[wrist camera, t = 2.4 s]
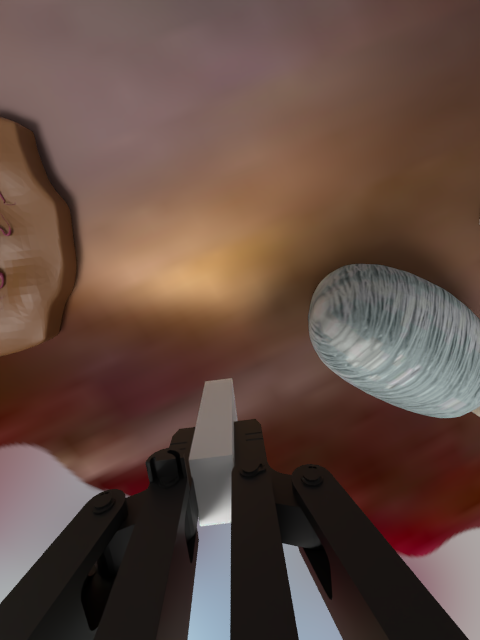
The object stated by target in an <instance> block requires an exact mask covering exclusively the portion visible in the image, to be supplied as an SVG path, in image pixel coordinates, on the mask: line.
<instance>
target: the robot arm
mask: <svg viewBox="0 0 480 640" xmlns="http://www.w3.org/2000/svg"><path fill="white" fill-rule="evenodd" d="M146 467H147V472H148V477H149V481H150V484H149V487H148V489H146V490H145V491H143V492H140V493H138V494H135V495H133V496H130V497H127V498H126V497H125V494H124V493H123V492H122V491H121V490H118V489H112V490H107V491H104V492H101V493H99V494H98V495H96V496H94V497H93V498H92V499H91V500H90V501H88V502H87V503H86V504H85V506H84V507H83V508H82V509H81V510H80V512H79V513H78V514H77V515H76V516H75V517H74V519H73V520H72V521H71V522H70V523H69V524H68V525H67V527H66V528H65V529H64V530H63V531H62V532H61V534H60V535H59V536H58V537H57V538H56V539H55V541H54V542H53V543H52V544H51V545H50V546H49V548H48V549H47V550H46V551H45V552H44V553H43V555H42V556H41V557H40V558H39V559H38V561H37V562H36V563H35V564H34V565H33V566H32V567H31V569H30V570H29V571H28V572H27V573H26V575H25V576H24V577H23V578H22V579H21V580H20V581H19V583H18V584H17V585H16V586H15V587H14V588H13V590H12V591H11V592H10V593H9V594H8V595H7V597H6V598H5V599H4V600H3V601H2V602H1V604H0V640H187V638H188V629H189V621H190V612H191V603H192V595H193V594H192V593H193V586H194V577H195V568H196V560H197V551H198V542H199V539H198V531H197V521H198V517H199V523H200V526H207V525H216V524H224V523H231V625H230V627H231V628H230V633H231V635H230V640H299V639H298V633H297V627H296V621H295V616H294V610H293V604H292V599H291V592H290V586H289V580H288V575H287V569H286V563H285V557H284V552H283V546H282V543H285V544H290V545H294V546H298V547H299V551H300V553H301V555H302V557H303V559H304V561H305V563H306V565H307V567H308V569H309V572H310V574H311V576H312V577H313V580H314V581H315V584H316V586H317V587H318V590H319V592H320V594H321V596H322V598H323V600H324V602H325V604H326V606H327V608H328V610H329V612H330V614H331V616H332V618H333V620H334V622H335V624H336V626H337V628H338V630H339V632H340V634H341V636H342V638H343V640H469V639H468V638H467V637H466V636H465V634H464V633H463V632H462V631H461V630H460V628H459V627H458V626H457V625H456V624H455V622H454V621H453V620H452V619H451V618H450V616H449V615H448V614H447V613H446V612H445V610H444V609H443V608H442V607H441V606H440V604H439V603H438V602H437V601H436V600H435V598H434V597H433V596H432V595H431V594H430V592H429V591H428V590H427V589H426V587H425V586H424V585H423V584H422V583H421V581H420V580H419V579H418V578H417V577H416V575H415V574H414V573H413V572H412V571H411V569H410V568H409V567H408V566H407V565H406V563H405V562H404V561H403V560H402V559H401V557H400V556H399V555H398V554H397V553H396V551H395V550H394V549H393V548H392V546H391V545H390V544H389V543H388V542H387V540H386V539H385V538H384V537H383V536H382V534H381V533H380V532H379V531H378V530H377V528H376V527H375V526H374V525H373V524H372V522H371V521H370V520H369V519H368V518H367V516H366V515H365V514H364V513H363V512H362V510H361V509H360V508H359V507H358V506H357V504H356V503H355V502H354V501H353V500H352V498H351V497H350V496H349V495H348V494H347V492H346V491H345V490H344V489H343V487H342V486H341V485H340V484H339V483H338V481H337V480H336V479H335V478H334V477H333V475H332V474H331V473H330V472H329V471H328V470H326V469H325V468H324V467H321V466H319V465H313V464H307V465H302V466H300V467H298V468H296V469H295V470H294V472H293V473H292V475H287V474H282V473H279V472H277V471H275V470H273V469H272V468H271V467H270V466H269V465H268V462H267V458H266V452H265V446H264V440H263V435H262V429H261V424H260V423H259V422H258V421H257V420H256V419H251V420H243V421H238V419H237V412H236V404H235V397H234V389H233V382H232V378H230V379H222V380H214V381H206V382H205V386H204V390H203V395H202V400H201V404H200V409H199V414H198V418H197V423H196V427H192V428H184V429H179V430H178V431H177V432H176V433H175V434H174V435H173V437H172V440H171V443H170V446H169V448H166V449H162V450H160V451H158V452H155V453H154V454H153V455H151V456H150V457H149V458H148V459H147V461H146Z"/></svg>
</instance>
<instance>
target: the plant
mask: <svg viewBox="0 0 480 640" xmlns="http://www.w3.org/2000/svg"><path fill="white" fill-rule="evenodd" d="M76 270H77V259H76V252H75V246H74V239H73V230H72V220H71V214H70V210H69V207H68V205H67V204H66V202H65V201H64V200H63V199H62V197H61V196H60V195H59V194H58V193H57V192H56V190H55V189H54V188H53V186H52V185H51V183H50V181H49V179H48V177H47V175H46V172H45V169H44V167H43V164H42V161H41V159H40V156H39V153H38V150H37V146H36V141H35V137H34V133H33V132H32V131H31V130H29V129H27V128H25V127H23V126H22V125H20V124H18V123H16V122H14V121H11V120H8V119H5V118H3V117H0V357H1V356H4V355H8V354H12V353H16V352H19V351H23V350H25V349H28V348H31V347H34V346H36V345H39V344H41V343H43V342H45V341H47V340H49V339H52V338H53V337H55V336H56V335H58V333H59V331H60V325H61V321H62V315H63V310H64V307H65V304H66V301H67V299H68V297H69V295H70V294H71V292H72V290H73V288H74V284H75V278H76Z"/></svg>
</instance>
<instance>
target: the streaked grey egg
mask: <svg viewBox="0 0 480 640" xmlns="http://www.w3.org/2000/svg"><path fill="white" fill-rule="evenodd" d="M308 324H309V335H310V339H311V342H312V345H313V347H314V349H315V351H316V352H317V354H318V356H319V357H320V359H321V360H322V361H323V363H324V364H325V365H326V366H327V367H329V368H330V369H331V370H332V371H333V372H335V373H336V374H337V375H338V376H340V377H341V378H342V379H344V380H345V381H347V382H348V383H350V384H352V385H353V386H355V387H357V388H359V389H361V390H362V391H364V392H366V393H368V394H370V395H372V396H374V397H376V398H378V399H381V400H383V401H385V402H388V403H390V404H392V405H395V406H397V407H400V408H403V409H405V410H409V411H412V412H415V413H418V414H423V415H427V416H432V417H438V418H453V417H460V416H462V415H464V414H466V413H468V412H471V411H473V410H475V409H477V408H478V407H480V320H479V318H478V317H477V316H476V315H475V314H474V313H473V312H472V311H471V310H470V309H469V308H468V307H467V306H466V305H465V304H463V303H462V302H460V301H459V300H458V299H457V298H455V297H454V296H453V295H452V294H451V293H449V292H447V291H446V290H444V289H443V288H441V287H439V286H437V285H435V284H433V283H431V282H429V281H427V280H425V279H422V278H420V277H418V276H416V275H414V274H411V273H409V272H406V271H402V270H399V269H395V268H392V267H388V266H384V265H377V264H351V265H346V266H343V267H341V268H339V269H337V270H335V271H333V272H332V273H330V274H328V275H327V276H326V277H325V278H324V279H323V280H322V281H321V282H320V284H319V285H318V286H317V288H316V290H315V292H314V294H313V296H312V300H311V303H310V309H309V314H308Z"/></svg>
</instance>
